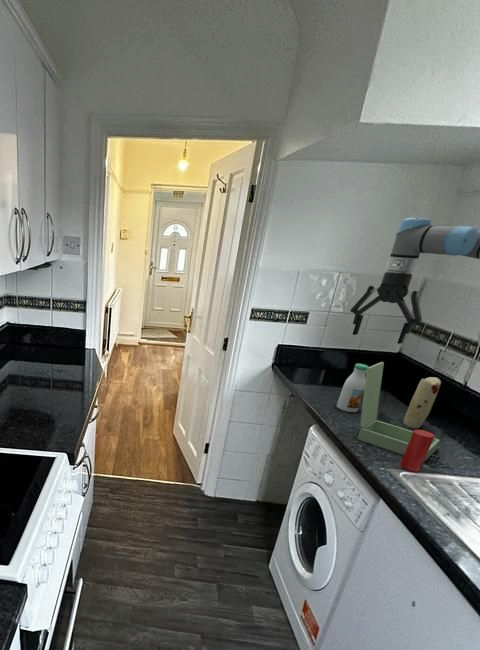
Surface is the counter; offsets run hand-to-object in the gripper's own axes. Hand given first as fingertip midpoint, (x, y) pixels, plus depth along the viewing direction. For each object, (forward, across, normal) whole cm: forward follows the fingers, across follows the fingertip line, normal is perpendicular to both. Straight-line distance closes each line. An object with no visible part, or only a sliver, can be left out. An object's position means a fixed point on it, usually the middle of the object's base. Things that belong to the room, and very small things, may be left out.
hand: (376, 338), depth 139 cm
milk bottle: (+35, -8, +22) cm, 42 cm away
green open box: (+34, +16, +1) cm, 38 cm away
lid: (+19, +4, +1) cm, 20 cm away
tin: (+34, +24, -12) cm, 44 cm away
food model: (+35, +14, +28) cm, 47 cm away
